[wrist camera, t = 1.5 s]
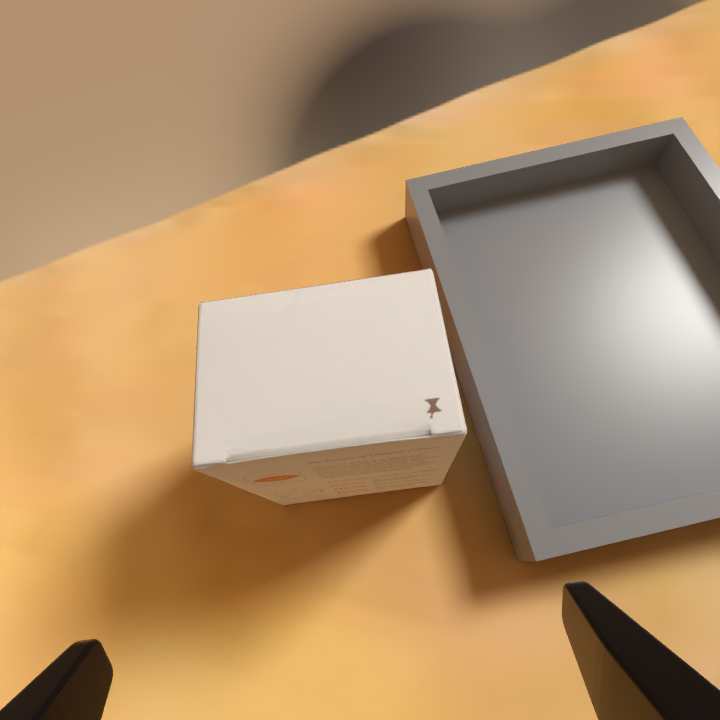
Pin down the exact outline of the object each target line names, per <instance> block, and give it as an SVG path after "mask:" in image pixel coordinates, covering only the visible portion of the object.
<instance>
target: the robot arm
mask: <svg viewBox="0 0 720 720" xmlns="http://www.w3.org/2000/svg"><path fill="white" fill-rule="evenodd" d="M562 619H563V624H564V627H565V630H566V633H567V636H568V638H569V641H570V644H571V647H572V649H573V652H574V655H575V658H576V660H577V663H578V666H579V668H580V671H581V674H582V677H583V679H584V682H585V685H586V688H587V690H588V693H589V696H590V699H591V701H592V704H593V707H594V709H595V712H596V714H597V717H598V720H720V690H719V689H718V688H716V687H715V686H714V685H713V684H711V683H710V682H709V681H708V680H707V679H705V678H704V677H703V676H702V675H700V674H699V673H698V672H697V671H696V670H694V669H693V668H692V667H691V666H689V665H688V664H687V663H686V662H685V661H683V660H682V659H681V658H680V657H678V656H677V655H676V654H675V653H673V652H672V651H671V650H670V649H669V648H667V647H666V646H665V645H664V644H662V643H661V642H660V641H659V640H658V639H656V638H655V637H654V636H653V635H651V634H650V633H649V632H648V631H647V630H645V629H644V628H643V627H642V626H640V625H639V624H638V623H637V622H636V621H634V620H633V619H632V618H631V617H629V616H628V615H627V614H626V613H624V612H623V611H622V610H621V609H620V608H618V607H617V606H616V605H615V604H613V603H612V602H611V601H610V600H609V599H607V598H606V597H605V596H604V595H602V594H601V593H600V592H599V591H598V590H596V589H595V588H594V587H593V586H591V585H590V584H589V583H587V582H574V583H567V584H565V585H564V587H563V600H562ZM112 677H113V669H112V665H111V663H110V661H109V659H108V657H107V654H106V652H105V650H104V648H103V646H102V644H101V643H100V641H98V640H97V639H91V640H83V641H78V642H75V643H74V644H72V645H71V646H70V647H69V648H67V649H66V650H65V651H64V652H63V653H62V654H61V655H60V656H59V657H58V658H57V659H56V660H54V661H53V662H52V663H51V664H50V665H49V666H48V667H47V668H46V669H45V670H44V671H43V672H41V673H40V674H39V675H38V676H37V677H36V678H35V679H34V680H33V681H32V682H31V683H30V684H28V685H27V686H26V687H25V688H24V689H23V690H22V691H21V692H20V693H19V694H18V695H17V696H15V697H14V698H13V699H12V700H11V701H10V702H9V703H8V704H7V705H6V706H5V707H4V708H2V709H1V710H0V720H101V718H102V714H103V711H104V707H105V704H106V700H107V697H108V693H109V690H110V686H111V683H112Z"/></svg>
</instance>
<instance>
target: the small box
mask: <svg viewBox="0 0 720 720" xmlns="http://www.w3.org/2000/svg"><path fill="white" fill-rule="evenodd" d="M466 434H467V427H466V423H465V418H464V414H463V409H462V404H461V400H460V395H459V390H458V386H457V381H456V377H455V372H454V367H453V363H452V358H451V354H450V349H449V344H448V340H447V335H446V330H445V325H444V321H443V316H442V311H441V307H440V302H439V297H438V293H437V288H436V283H435V278H434V273H433V271H432V270H431V269H430V268H429V269H423V270H417V271H410V272H404V273H397V274H390V275H383V276H376V277H370V278H364V279H357V280H350V281H344V282H337V283H330V284H324V285H317V286H309V287H303V288H296V289H290V290H283V291H276V292H269V293H262V294H255V295H249V296H242V297H235V298H228V299H221V300H214V301H207V302H201V303H200V304H199V309H198V332H197V353H196V375H195V397H194V419H193V444H192V462H191V463H192V468H193V469H194V470H196V471H198V472H201V473H203V474H206V475H208V476H210V477H213V478H216V479H218V480H221V481H223V482H226V483H228V484H230V485H233V486H235V487H238V488H240V489H243V490H245V491H248V492H250V493H253V494H255V495H258V496H260V497H263V498H265V499H268V500H270V501H273V502H275V503H278V504H280V505H289V504H295V503H303V502H310V501H318V500H326V499H334V498H341V497H349V496H356V495H364V494H372V493H380V492H387V491H395V490H402V489H410V488H418V487H426V486H435V485H441V484H442V483H443V480H444V478H445V476H446V474H447V472H448V470H449V468H450V466H451V464H452V462H453V460H454V458H455V456H456V454H457V452H458V450H459V448H460V446H461V444H462V442H463V440H464V438H465V436H466Z"/></svg>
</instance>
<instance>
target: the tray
mask: <svg viewBox="0 0 720 720" xmlns="http://www.w3.org/2000/svg"><path fill="white" fill-rule="evenodd" d="M405 217H406V220H407V223H408V226H409V230H410V233H411V236H412V239H413V242H414V245H415V248H416V251H417V254H418V257H419V260H420V263H421V266H422V269H429V268H430V269H431V270H432V271H433V273H434V278H435V283H436V288H437V293H438V297H439V302H440V307H441V311H442V316H443V321H444V325H445V330H446V335H447V340H448V344H449V349H450V354H451V358H452V361H453V364H454V367H455V370H456V373H457V376H458V379H459V382H460V385H461V388H462V391H463V394H464V397H465V400H466V403H467V406H468V409H469V413H470V416H471V419H472V422H473V425H474V428H475V431H476V434H477V437H478V440H479V443H480V446H481V449H482V452H483V455H484V458H485V461H486V464H487V467H488V470H489V474H490V477H491V480H492V483H493V486H494V489H495V492H496V495H497V498H498V501H499V504H500V507H501V510H502V513H503V516H504V519H505V522H506V525H507V528H508V531H509V535H510V538H511V541H512V544H513V547H514V550H515V553H516V556H517V559H518V561H540V560H545V559H549V558H553V557H557V556H561V555H566V554H570V553H574V552H578V551H582V550H586V549H591V548H595V547H599V546H603V545H607V544H612V543H616V542H620V541H624V540H628V539H632V538H637V537H641V536H645V535H649V534H653V533H658V532H662V531H666V530H670V529H674V528H679V527H683V526H687V525H691V524H695V523H699V522H704V521H708V520H712V519H716V518H720V169H719V168H718V166H717V165H716V163H715V162H714V161H713V159H712V158H711V156H710V155H709V154H708V152H707V151H706V150H705V148H704V147H703V145H702V144H701V143H700V141H699V140H698V138H697V137H696V136H695V134H694V133H693V132H692V130H691V129H690V127H689V126H688V125H687V123H686V122H685V120H684V119H683V118H682V117H681V118H676V119H672V120H668V121H663V122H659V123H655V124H650V125H646V126H641V127H637V128H633V129H628V130H624V131H620V132H615V133H611V134H606V135H602V136H598V137H593V138H589V139H584V140H580V141H576V142H571V143H567V144H563V145H558V146H554V147H549V148H545V149H541V150H536V151H532V152H528V153H523V154H519V155H514V156H510V157H506V158H501V159H497V160H493V161H488V162H484V163H479V164H475V165H471V166H466V167H462V168H458V169H453V170H449V171H444V172H440V173H436V174H431V175H427V176H423V177H418V178H414V179H409V180H406V200H405Z"/></svg>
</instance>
